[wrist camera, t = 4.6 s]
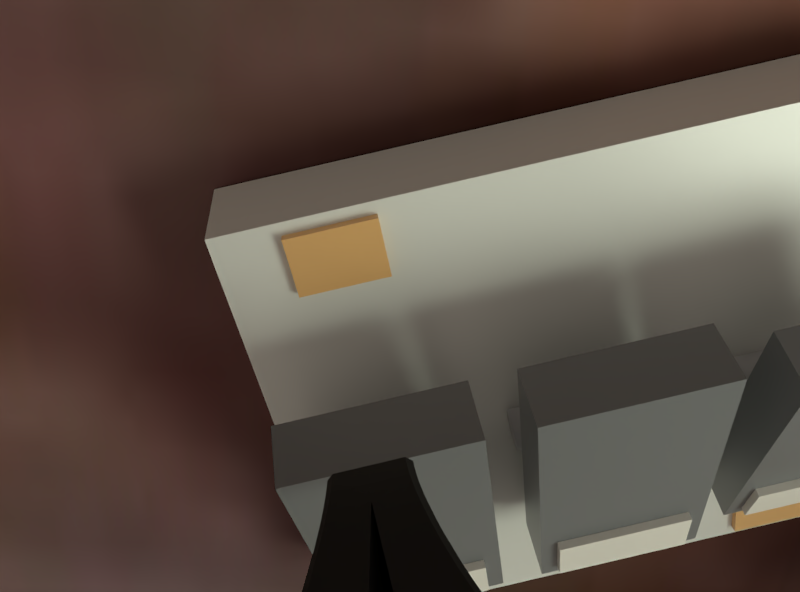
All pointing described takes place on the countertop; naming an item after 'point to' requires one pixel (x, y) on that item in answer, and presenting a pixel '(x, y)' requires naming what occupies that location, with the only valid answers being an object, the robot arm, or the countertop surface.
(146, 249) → the countertop surface
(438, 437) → the rocker left
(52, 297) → the countertop surface
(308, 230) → the switch unit
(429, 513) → the robot arm
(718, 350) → the rocker middle
